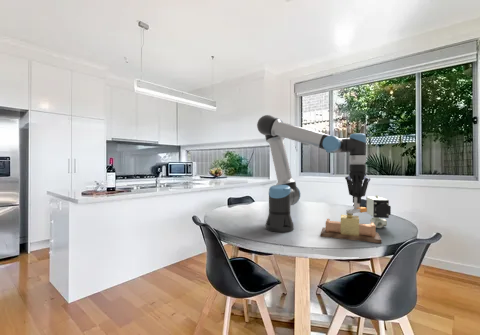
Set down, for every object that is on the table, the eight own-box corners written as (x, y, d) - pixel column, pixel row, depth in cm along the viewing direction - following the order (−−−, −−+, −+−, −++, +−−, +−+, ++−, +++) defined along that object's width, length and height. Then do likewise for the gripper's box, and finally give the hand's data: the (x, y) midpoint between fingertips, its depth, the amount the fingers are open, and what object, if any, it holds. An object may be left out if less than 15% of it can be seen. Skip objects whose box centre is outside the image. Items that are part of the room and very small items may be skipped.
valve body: (325, 233, 121) (325, 214, 121) (326, 229, 129) (326, 211, 128) (375, 239, 112) (376, 218, 112) (374, 234, 120) (374, 215, 120)
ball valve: (392, 231, 129) (393, 197, 128) (375, 230, 130) (375, 197, 130) (380, 223, 146) (380, 193, 146) (365, 222, 148) (365, 193, 148)
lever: (350, 215, 118) (350, 210, 118) (345, 214, 121) (345, 209, 121) (367, 212, 126) (367, 207, 126) (361, 211, 128) (361, 206, 128)
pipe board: (320, 236, 120) (320, 233, 120) (322, 230, 131) (322, 227, 131) (381, 243, 110) (381, 239, 110) (378, 235, 121) (378, 232, 121)
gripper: (341, 163, 130) (341, 208, 130) (364, 164, 119) (364, 212, 119) (350, 163, 134) (350, 206, 134) (374, 164, 122) (373, 211, 123)
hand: (356, 209), depth 127 cm, fingers closed
